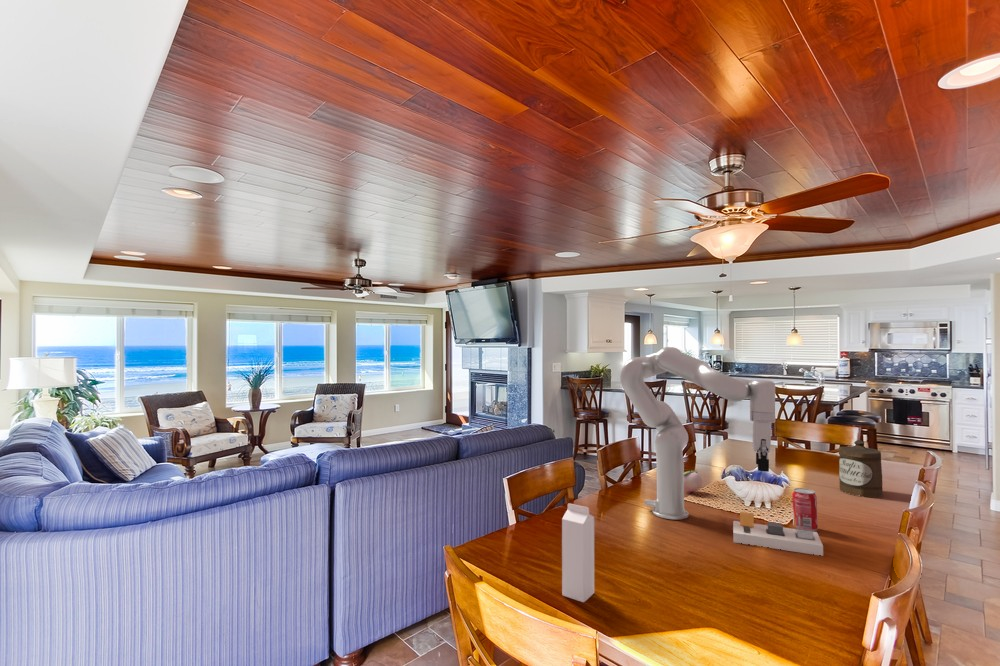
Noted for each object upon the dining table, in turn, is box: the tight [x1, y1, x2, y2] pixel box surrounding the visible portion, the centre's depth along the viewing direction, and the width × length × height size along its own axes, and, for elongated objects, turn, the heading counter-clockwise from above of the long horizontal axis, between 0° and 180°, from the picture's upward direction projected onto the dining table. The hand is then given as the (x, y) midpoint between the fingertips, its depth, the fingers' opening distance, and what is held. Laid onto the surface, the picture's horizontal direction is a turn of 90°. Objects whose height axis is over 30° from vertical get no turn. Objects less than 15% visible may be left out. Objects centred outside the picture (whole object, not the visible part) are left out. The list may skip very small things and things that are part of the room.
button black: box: [767, 521, 784, 536], centre depth 157 cm, size 4×4×4 cm
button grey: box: [795, 525, 813, 540], centre depth 154 cm, size 4×4×4 cm
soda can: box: [792, 487, 819, 532], centre depth 168 cm, size 7×7×13 cm
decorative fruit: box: [684, 468, 703, 494], centre depth 210 cm, size 9×8×10 cm
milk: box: [561, 502, 595, 604], centre depth 124 cm, size 6×6×22 cm
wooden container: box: [838, 439, 883, 498], centre depth 211 cm, size 15×15×22 cm
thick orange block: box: [739, 511, 755, 533], centre depth 162 cm, size 4×2×7 cm, turn 65°
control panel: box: [732, 520, 824, 557], centre depth 157 cm, size 24×12×3 cm, turn 65°
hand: (762, 467), depth 167 cm, fingers open, 9 cm apart
